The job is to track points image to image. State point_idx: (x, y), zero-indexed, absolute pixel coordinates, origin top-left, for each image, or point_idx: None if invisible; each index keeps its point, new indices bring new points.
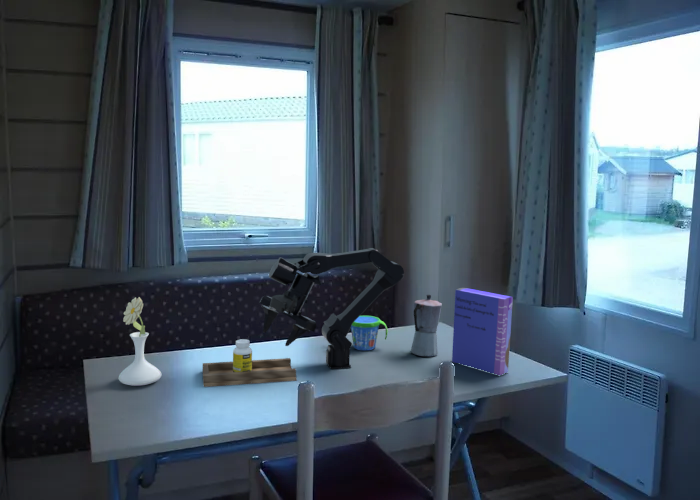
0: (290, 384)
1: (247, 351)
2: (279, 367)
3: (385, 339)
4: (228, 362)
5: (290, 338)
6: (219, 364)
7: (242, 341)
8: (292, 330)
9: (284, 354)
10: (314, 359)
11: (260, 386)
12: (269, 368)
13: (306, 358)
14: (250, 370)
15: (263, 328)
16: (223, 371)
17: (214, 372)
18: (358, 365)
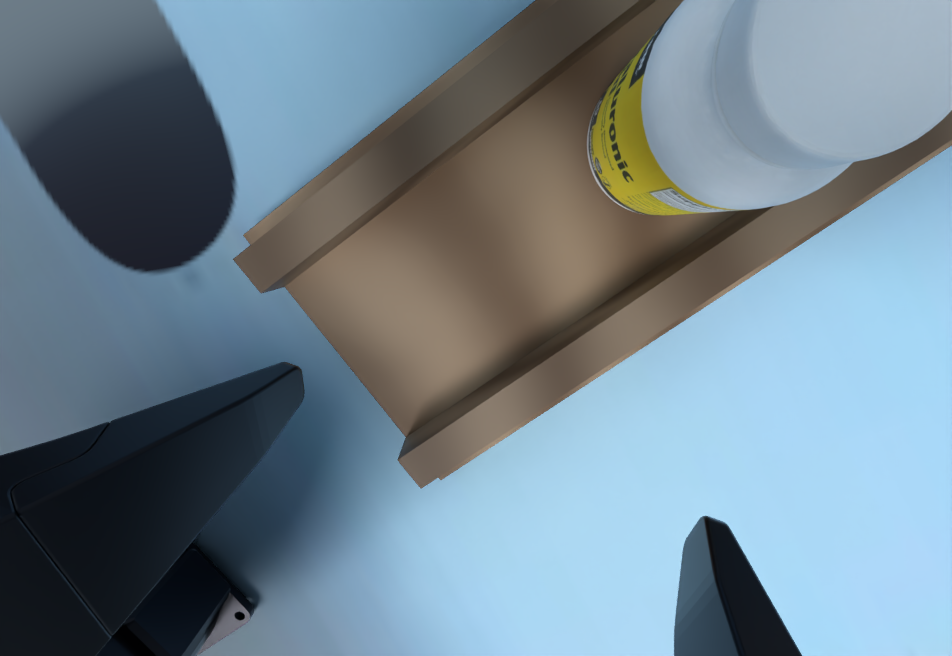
0: (251, 147)
1: (678, 25)
2: (462, 379)
3: None
4: (846, 186)
5: (159, 405)
6: None
7: (868, 10)
8: (17, 505)
9: (575, 645)
10: (356, 634)
11: (422, 7)
12: (518, 331)
13: (410, 632)
14: (592, 135)
15: (745, 564)
16: None
17: None
18: None
